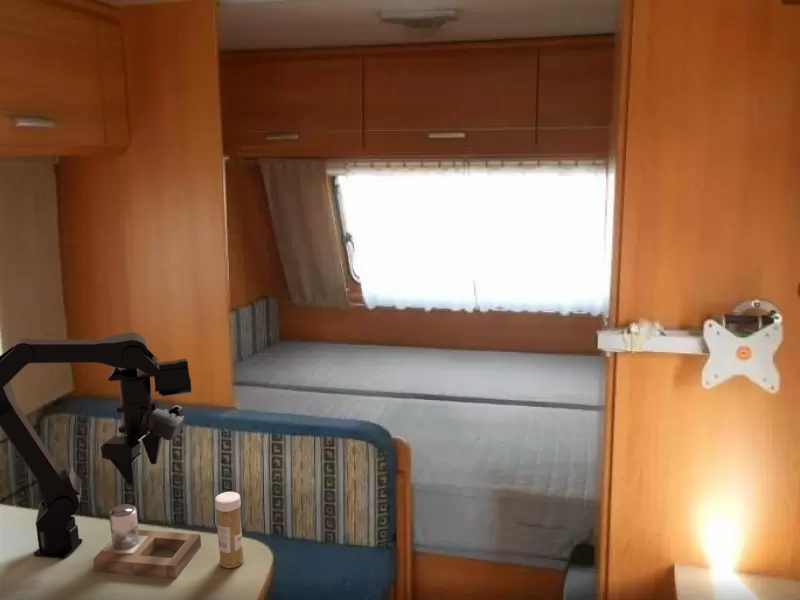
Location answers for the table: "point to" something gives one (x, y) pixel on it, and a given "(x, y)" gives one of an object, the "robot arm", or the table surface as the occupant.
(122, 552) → the block
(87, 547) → the table surface
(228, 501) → the sprinkles bottle
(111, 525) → the plug
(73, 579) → the table surface
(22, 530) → the table surface
